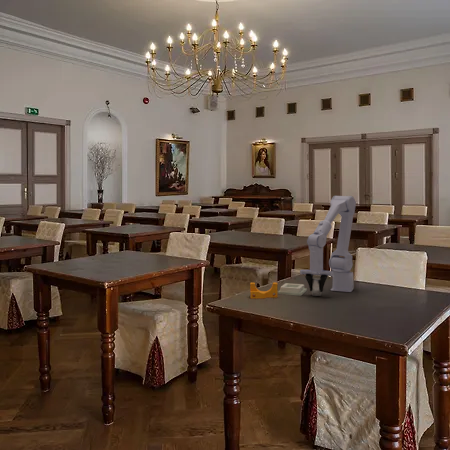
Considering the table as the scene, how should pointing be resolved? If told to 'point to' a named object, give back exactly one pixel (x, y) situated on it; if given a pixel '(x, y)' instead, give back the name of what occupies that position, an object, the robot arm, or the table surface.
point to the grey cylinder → (316, 287)
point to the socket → (292, 289)
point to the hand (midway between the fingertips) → (316, 291)
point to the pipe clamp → (263, 292)
